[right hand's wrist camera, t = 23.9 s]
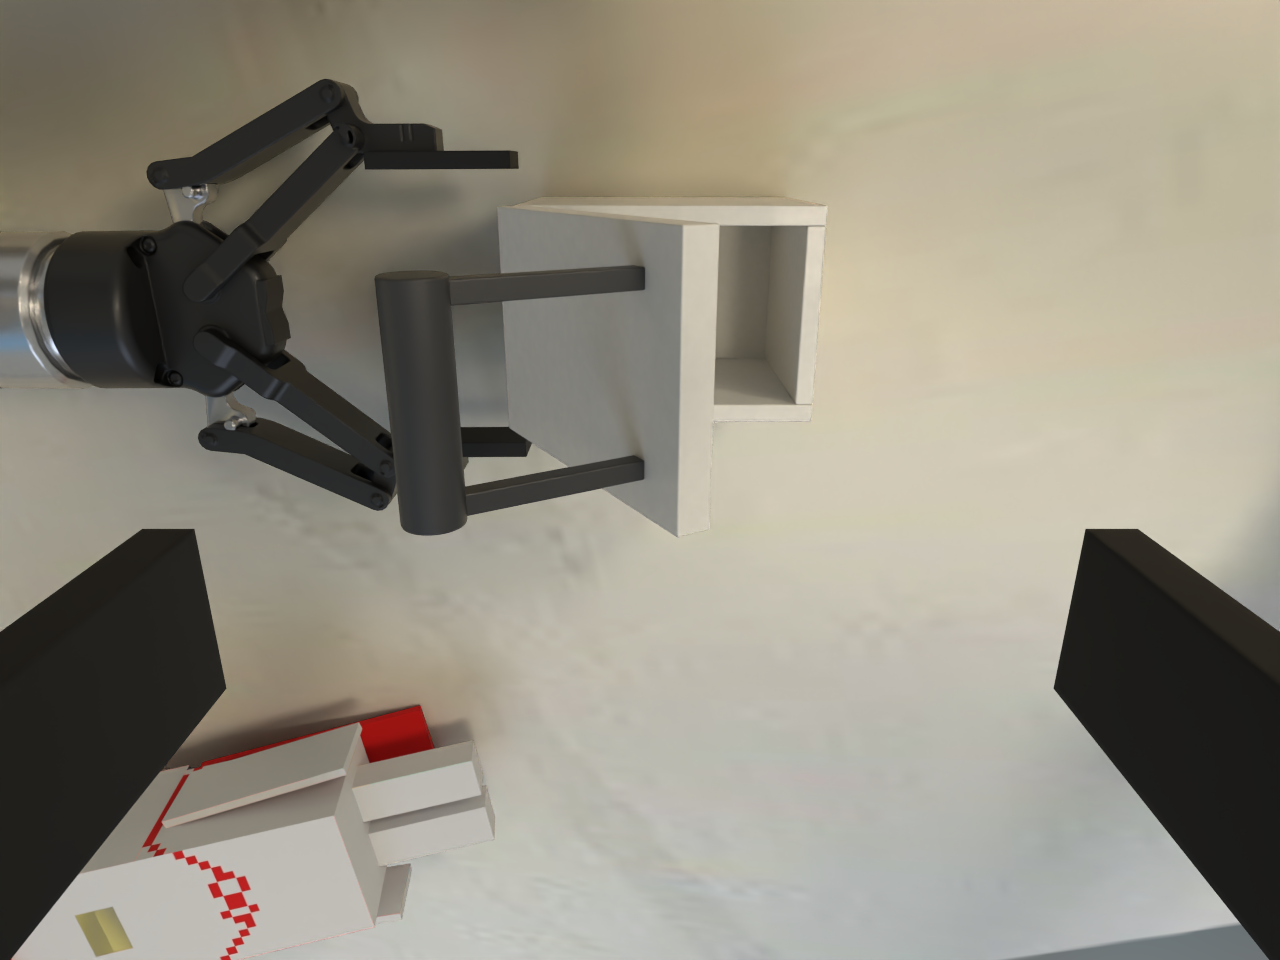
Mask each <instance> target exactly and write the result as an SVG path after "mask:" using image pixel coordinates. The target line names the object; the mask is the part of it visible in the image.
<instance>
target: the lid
mask: <svg viewBox="0 0 1280 960" xmlns="http://www.w3.org/2000/svg"><path fill="white" fill-rule="evenodd" d="M497 214H498V232H499V250H500V269H501V273H499V274H483V275H467V276H451V277H449V276H448V274H446V273H443V272H438V271H399V272H389V273H382V274H379V275H377V276H375V287H376V296H377V306H378V315H379V325H380V334H381V344H382V353H383V362H384V372H385V381H386V391H387V400H388V409H389V419H390V428H391V438H392V447H393V457H394V466H395V475H396V485H397V494H398V504H399V513H400V522H401V526H402V528H403V529H404V530H405V531H406V532H408V533H411V534H415V535H440V534H445V533H449V532H452V531H455V530H457V529H459V528H461V527H462V526H464V525H465V523H466V521H467V516H469V515H474V514H479V513H483V512H488V511H493V510H498V509H503V508H508V507H513V506H518V505H522V504H527V503H532V502H537V501H542V500H547V499H552V498H557V497H562V496H566V495H571V494H576V493H581V492H586V491H591V490H596V489H601V488H602V489H604V490H605V491H607V492H608V493H610V494H611V495H613V496H615V497H616V498H618V499H619V500H621V501H622V502H624V503H625V504H627V505H628V506H630V507H631V508H633V509H635V510H636V511H638V512H639V513H641V514H642V515H644V516H645V517H647V518H648V519H650V520H651V521H653V522H654V523H656V524H658V525H659V526H661V527H662V528H664V529H665V530H667V531H668V532H670V533H671V534H673V535H674V536H676V537H681V536H685V535H689V534H693V533H697V532H701V531H706V530H709V529H710V502H711V472H712V441H713V411H714V380H715V350H716V320H717V289H718V259H719V228H720V225H719V224H718V223H707V222H696V221H685V220H675V219H664V218H653V217H642V216H632V215H621V214H610V213H599V212H588V211H578V210H567V209H556V208H545V207H534V206H498V207H497ZM490 302H502V305H503V323H504V341H505V360H506V378H507V396H508V414H509V428H510V429H512V430H513V431H515V432H516V433H518V434H519V435H521V436H522V437H524V438H526V439H527V440H529V441H530V442H532V443H533V444H535V445H536V446H538V447H539V448H541V449H542V450H544V451H545V452H547V453H549V454H550V455H552V456H553V457H555V458H556V459H558V460H559V461H561V462H562V463H564V464H565V465H567V466H568V468H562V469H557V470H552V471H546V472H541V473H536V474H530V475H525V476H520V477H514V478H509V479H504V480H498V481H493V482H488V483H482V484H477V485H472V486H466V487H465V481H464V468H463V455H462V441H461V428H460V415H459V402H458V389H457V376H456V363H455V349H454V336H453V323H452V310H451V306H452V305H465V304H477V303H490Z"/></svg>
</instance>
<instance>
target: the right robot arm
mask: <svg viewBox="0 0 1280 960" xmlns="http://www.w3.org/2000/svg"><path fill="white" fill-rule="evenodd" d="M225 689H226V684H225V679H224V675H223V670H222V665H221V660H220V655H219V650H218V645H217V640H216V635H215V630H214V625H213V620H212V615H211V610H210V605H209V600H208V595H207V590H206V585H205V580H204V575H203V570H202V565H201V560H200V555H199V550H198V545H197V540H196V535H195V530H194V529H142V530H140V531H139V532H137V533H136V534H135V535H133V536H132V537H131V538H129V539H128V540H126V541H125V542H124V543H122V544H121V545H120V546H118V547H117V548H115V549H114V550H113V551H111V552H110V553H109V554H107V555H106V556H104V557H103V558H102V559H100V560H99V561H97V562H96V563H95V564H93V565H92V566H91V567H89V568H88V569H86V570H85V571H84V572H82V573H81V574H80V575H78V576H77V577H75V578H74V579H73V580H71V581H70V582H69V583H67V584H66V585H64V586H63V587H62V588H60V589H59V590H58V591H56V592H55V593H53V594H52V595H51V596H49V597H48V598H46V599H45V600H44V601H42V602H41V603H40V604H38V605H37V606H35V607H34V608H33V609H31V610H30V611H29V612H27V613H26V614H24V615H23V616H22V617H20V618H19V619H18V620H16V621H15V622H13V623H12V624H11V625H9V626H8V627H6V628H5V629H4V630H2V631H1V632H0V960H11V959H12V957H13V956H14V955H15V954H16V952H17V951H18V950H19V949H20V947H21V946H22V945H23V944H24V942H25V941H26V940H27V939H28V937H29V936H30V935H31V934H32V932H33V931H34V930H35V928H36V927H37V926H38V925H39V923H40V922H41V921H42V920H43V918H44V917H45V916H46V915H47V913H48V912H49V911H50V910H51V908H52V907H53V906H54V905H55V903H56V902H57V901H58V900H59V898H60V897H61V896H62V895H63V893H64V892H65V891H66V889H67V888H68V887H69V886H70V884H71V883H72V882H73V881H74V879H75V878H76V877H77V876H78V874H79V873H80V872H81V871H82V869H83V868H84V867H85V866H86V864H87V863H88V862H89V861H90V859H91V858H92V857H93V856H94V854H95V853H96V852H97V850H98V849H99V848H100V847H101V845H102V844H103V843H104V842H105V840H106V839H107V838H108V837H109V835H110V834H111V833H112V832H113V830H114V829H115V828H116V827H117V825H118V824H119V823H120V822H121V820H122V819H123V818H124V817H125V815H126V814H127V813H128V811H129V810H130V809H131V808H132V806H133V805H134V804H135V803H136V801H137V800H138V799H139V798H140V796H141V795H142V794H143V793H144V791H145V790H146V789H147V788H148V786H149V785H150V784H151V783H152V781H153V780H154V779H155V778H156V776H157V775H158V774H159V772H160V771H161V770H162V769H163V767H164V766H165V765H166V764H167V762H168V761H169V760H170V759H171V757H172V756H173V755H174V754H175V752H176V751H177V750H178V749H179V747H180V746H181V745H182V744H183V742H184V741H185V740H186V739H187V737H188V736H189V735H190V734H191V732H192V731H193V730H194V728H195V727H196V726H197V725H198V723H199V722H200V721H201V720H202V718H203V717H204V716H205V715H206V713H207V712H208V711H209V710H210V708H211V707H212V706H213V705H214V703H215V702H216V701H217V700H218V698H219V697H220V696H221V695H222V693H223V692H224V691H225ZM1054 689H1055V691H1056V692H1057V693H1058V695H1059V696H1060V697H1061V698H1062V700H1063V701H1064V702H1065V703H1066V705H1067V706H1068V707H1069V708H1070V710H1071V711H1072V712H1073V713H1074V715H1075V716H1076V717H1077V718H1078V720H1079V721H1080V722H1081V723H1082V725H1083V726H1084V727H1085V728H1086V730H1087V731H1088V732H1089V734H1090V735H1091V736H1092V737H1093V739H1094V740H1095V741H1096V742H1097V744H1098V745H1099V746H1100V747H1101V749H1102V750H1103V751H1104V752H1105V754H1106V755H1107V756H1108V757H1109V759H1110V760H1111V761H1112V762H1113V764H1114V765H1115V766H1116V767H1117V769H1118V770H1119V771H1120V772H1121V774H1122V775H1123V776H1124V778H1125V779H1126V780H1127V781H1128V783H1129V784H1130V785H1131V786H1132V788H1133V789H1134V790H1135V791H1136V793H1137V794H1138V795H1139V796H1140V798H1141V799H1142V800H1143V801H1144V803H1145V804H1146V805H1147V806H1148V808H1149V809H1150V810H1151V811H1152V813H1153V814H1154V815H1155V817H1156V818H1157V819H1158V820H1159V822H1160V823H1161V824H1162V825H1163V827H1164V828H1165V829H1166V830H1167V832H1168V833H1169V834H1170V835H1171V837H1172V838H1173V839H1174V840H1175V842H1176V843H1177V844H1178V845H1179V847H1180V848H1181V849H1182V850H1183V852H1184V853H1185V854H1186V856H1187V857H1188V858H1189V859H1190V861H1191V862H1192V863H1193V864H1194V866H1195V867H1196V868H1197V869H1198V871H1199V872H1200V873H1201V874H1202V876H1203V877H1204V878H1205V879H1206V881H1207V882H1208V883H1209V884H1210V886H1211V887H1212V888H1213V889H1214V891H1215V892H1216V893H1217V895H1218V896H1219V897H1220V898H1221V900H1222V901H1223V902H1224V903H1225V905H1226V906H1227V907H1228V908H1229V910H1230V911H1231V912H1232V913H1233V915H1234V916H1235V917H1236V918H1237V920H1238V921H1239V922H1240V923H1241V925H1242V926H1243V927H1244V928H1245V930H1246V931H1247V932H1248V933H1249V935H1250V936H1251V937H1252V939H1253V940H1254V941H1255V942H1256V944H1257V945H1258V946H1259V947H1260V949H1261V950H1262V951H1263V952H1264V954H1265V955H1266V956H1267V957H1268V959H1269V960H1280V632H1279V631H1278V630H1276V629H1275V628H1274V627H1272V626H1271V625H1269V624H1268V623H1267V622H1265V621H1264V620H1262V619H1261V618H1260V617H1258V616H1257V615H1256V614H1254V613H1253V612H1251V611H1250V610H1249V609H1247V608H1246V607H1245V606H1243V605H1242V604H1240V603H1239V602H1238V601H1236V600H1235V599H1234V598H1232V597H1231V596H1229V595H1228V594H1227V593H1225V592H1224V591H1222V590H1221V589H1220V588H1218V587H1217V586H1216V585H1214V584H1213V583H1211V582H1210V581H1209V580H1207V579H1206V578H1205V577H1203V576H1202V575H1200V574H1199V573H1198V572H1196V571H1195V570H1194V569H1192V568H1191V567H1189V566H1188V565H1187V564H1185V563H1184V562H1183V561H1181V560H1180V559H1178V558H1177V557H1176V556H1174V555H1173V554H1171V553H1170V552H1169V551H1167V550H1166V549H1165V548H1163V547H1162V546H1160V545H1159V544H1158V543H1156V542H1155V541H1154V540H1152V539H1151V538H1149V537H1148V536H1147V535H1145V534H1144V533H1143V532H1141V531H1140V530H1138V529H1086V530H1085V535H1084V540H1083V545H1082V550H1081V555H1080V560H1079V565H1078V570H1077V575H1076V580H1075V585H1074V590H1073V595H1072V600H1071V605H1070V610H1069V615H1068V620H1067V625H1066V630H1065V635H1064V640H1063V645H1062V650H1061V655H1060V660H1059V665H1058V670H1057V675H1056V679H1055V684H1054Z"/></svg>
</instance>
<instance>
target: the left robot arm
mask: <svg viewBox="0 0 1280 960" xmlns="http://www.w3.org/2000/svg"><path fill="white" fill-rule="evenodd" d="M330 124H331V126H332V129H333V132H332V133H331V134H330V135H329V136H328V137H327V138H326V140H325V141H324V142H323V143H322V144H321V145H320V146H319V147H318V148H317V149H316V150H315V151H314V152H313V153H312V154H311V155H310V156H309V157H308V158H307V159H306V160H305V161H304V162H303V163H302V164H301V166H300V167H299V168H298V169H297V170H296V171H295V172H294V173H293V174H292V175H291V176H290V177H289V178H288V179H287V180H286V181H285V182H284V183H283V184H282V185H281V186H280V187H279V188H278V189H277V190H276V191H275V193H274V194H273V195H272V196H271V197H270V198H269V199H268V200H267V201H266V202H265V203H264V204H263V205H262V206H261V207H260V208H259V209H258V210H257V211H256V212H255V213H254V214H253V215H252V216H251V217H250V218H249V219H248V220H247V221H246V222H245V223H243V224H242V225H240V226H238V227H237V228H236V229H235V230H234V231H233V232H232V233H231V234H230V235H227V234H226V233H224V232H223V231H221V230H220V229H218V228H217V227H215V226H214V225H212V224H211V223H209V222H207V221H204V220H203V217H202V212H203V209H204V207H205V206H206V205H208V204H210V203H212V202H214V201H215V200H216V198H217V195H218V188H217V187H216V185H219V184H224V183H227V182H230V181H233V180H235V179H237V178H239V177H241V176H243V175H244V174H246V173H248V172H250V171H251V170H253V169H255V168H256V167H258V166H260V165H261V164H263V163H265V162H267V161H268V160H270V159H272V158H273V157H275V156H277V155H279V154H280V153H282V152H284V151H285V150H287V149H289V148H290V147H292V146H294V145H296V144H297V143H299V142H301V141H302V140H304V139H306V138H308V137H309V136H311V135H313V134H314V133H316V132H318V131H319V130H321V129H323V128H325V127H326V126H328V125H330ZM363 160H364V163H365V169H519V167H518V152H516V151H444V149H443V137H442V130H441V129H439V128H436V127H434V126H432V125H428V124H373V123H371V122H370V121H368V120H367V118H366V117H365V116H364V114H363V112H362V110H361V107H360V105H359V103H358V95H357V92H356V91H355V89H354V88H353V87H351V86H349V85H347V84H344V83H340V82H337V81H333V80H329V79H323V80H320V81H318V82H316V83H315V84H313V85H311V86H310V87H308V88H306V89H305V90H303V91H301V92H300V93H298V94H296V95H295V96H293V97H291V98H290V99H288V100H286V101H285V102H283V103H281V104H280V105H278V106H276V107H275V108H273V109H271V110H270V111H268V112H266V113H265V114H263V115H261V116H260V117H258V118H256V119H255V120H253V121H251V122H250V123H248V124H246V125H245V126H243V127H241V128H239V129H238V130H236V131H234V132H233V133H231V134H229V135H228V136H226V137H224V138H223V139H221V140H219V141H218V142H216V143H214V144H213V145H211V146H209V147H208V148H206V149H204V150H203V151H201V152H199V153H198V154H196V155H194V156H193V157H187V158H179V159H172V160H164V161H156V162H153V163H151V164H150V165H149V166H148V169H147V178H148V180H149V182H150V183H151V184H152V185H153V186H154V187H156V188H158V189H162V190H164V194H165V197H166V200H167V204H168V207H169V210H170V214H171V217H172V220H173V224H172V225H170V226H169V227H168V228H166V229H164V230H161V231H82V232H77V233H75V234H70V233H67V232H65V231H56V232H0V388H60V389H84V388H88V387H93V386H96V387H100V388H188V389H192V390H195V391H197V392H199V393H201V394H203V395H205V396H206V408H207V422H208V426H207V427H206V428H204V429H203V430H201V431H200V433H199V436H198V439H199V443H200V444H201V445H202V447H204V448H205V449H207V450H211V451H220V452H229V453H239V454H246V455H248V456H250V457H253V458H255V459H257V460H260V461H262V462H264V463H267V464H269V465H271V466H273V467H276V468H278V469H280V470H283V471H285V472H287V473H290V474H292V475H294V476H297V477H299V478H301V479H304V480H306V481H308V482H311V483H313V484H315V485H317V486H320V487H322V488H324V489H327V490H329V491H331V492H334V493H336V494H338V495H341V496H343V497H345V498H348V499H350V500H352V501H355V502H357V503H359V504H361V505H364V506H366V507H368V508H371V509H373V510H377V511H379V510H383V509H385V508H386V507H387V506H388V504H389V503H390V502H391V501H392V499H393V498H394V497H395V495H396V494H397V485H396V475H395V466H394V457H393V447H392V438H391V433H390V432H389V431H387V430H386V429H384V428H383V427H382V426H380V425H379V424H378V423H376V422H375V421H374V420H372V419H371V418H370V417H368V416H367V415H365V414H364V413H363V412H361V411H360V410H359V409H357V408H356V407H355V406H353V405H352V404H351V403H349V402H348V401H346V400H345V399H344V398H342V397H341V396H340V395H338V394H337V393H336V392H334V391H333V390H332V389H330V388H329V387H328V386H326V385H325V384H323V383H322V382H321V381H319V380H318V379H317V378H315V377H314V376H313V375H311V374H310V373H309V372H307V370H306V368H305V366H304V365H303V364H302V363H301V362H300V361H299V360H297V359H296V358H295V357H293V356H292V355H291V354H289V353H288V352H287V351H285V350H284V348H285V346H286V341H287V339H289V338H291V336H290V330H289V323H288V320H287V318H286V316H285V313H284V311H283V309H282V301H283V292H284V290H283V283H282V277H281V275H277V274H276V272H275V270H274V269H273V267H272V266H271V265H270V264H269V263H268V262H267V261H268V260H269V259H270V258H271V257H272V256H273V255H274V254H275V253H276V252H277V251H278V250H279V249H280V248H281V247H282V246H283V245H284V244H285V243H286V241H287V238H288V237H289V236H290V235H291V234H292V233H293V232H294V231H295V230H296V229H297V228H298V226H299V225H300V224H301V223H302V222H303V221H304V220H305V219H306V218H307V217H308V216H309V215H310V214H311V213H312V212H313V211H314V210H315V209H316V208H317V207H318V206H319V205H320V204H321V203H322V202H323V201H324V200H325V199H326V198H327V197H328V196H329V195H330V194H331V193H332V192H333V191H334V190H335V189H336V188H337V187H338V186H339V185H340V184H341V183H342V182H343V181H344V180H345V179H346V178H347V177H348V176H349V175H350V174H351V173H352V172H353V171H354V170H355V169H356V168H357V167H358V166H359V165H360V164H361V163H362V162H363ZM244 384H246V385H247V386H248V387H250V388H251V389H252V390H254V391H255V392H257V393H258V394H259V395H261V396H263V397H264V398H267V399H271V400H275V401H277V402H278V403H280V404H281V405H283V406H284V407H285V408H287V409H288V410H289V411H291V412H292V413H294V414H295V415H296V416H298V417H299V418H301V419H302V420H303V421H305V422H306V423H307V424H309V425H310V426H312V427H313V428H314V429H316V430H317V431H319V432H320V433H321V434H323V435H324V436H325V437H327V438H328V439H330V440H331V441H332V442H334V443H335V444H337V445H338V446H339V447H341V448H342V449H344V450H345V451H346V452H348V453H349V454H350V455H349V454H347V453H345V452H343V451H340V450H338V449H336V448H334V447H331V446H329V445H327V444H324V443H322V442H320V441H318V440H315V439H313V438H311V437H309V436H306V435H304V434H302V433H299V432H297V431H295V430H293V429H290V428H288V427H286V426H284V425H281V424H279V423H276V422H274V421H271V420H267V419H263V418H257V417H256V416H255V415H256V413H255V411H254V410H253V409H252V408H249V407H246V406H243V405H241V404H240V403H238V402H237V401H236V399H235V397H234V394H233V391H236V390H238V389H239V388H240V387H242V386H243V385H244ZM460 428H461V441H462V455H463V468H464V469H465V467H466V465H467V464H468V462H469V461H468V457H526V456H527V454H528V451H529V449H530V446H531V444H532V442H530V441H529V440H527V439H526V438H524V437H522V436H521V435H519V434H518V433H516V432H515V431H513V430H512V429H510V428H509V427H460Z"/></svg>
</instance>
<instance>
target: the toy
mask: <svg viewBox="0 0 1280 960" xmlns="http://www.w3.org/2000/svg"><path fill="white" fill-rule="evenodd" d="M482 778H483V772H482V769H481V765H480V762H479V758H478V755H477V751H476V748H475V744H474V740H471V741H466V742H462V743H458V744H453V745H449V746H444V747H440V748H434V745H433V742H432V739H431V736H430V733H429V730H428V727H427V724H426V721H425V718H424V715H423V712H422V709H421V706H416V707H413V708H409V709H405V710H401V711H397V712H393V713H390V714H386V715H382V716H378V717H374V718H370V719H367V720H363V721H359V722H355V723H351V724H347V725H343V726H340V727H336V728H332V729H328V730H324V731H320V732H317V733H313V734H309V735H305V736H301V737H297V738H294V739H290V740H286V741H282V742H278V743H274V744H270V745H267V746H263V747H259V748H255V749H251V750H247V751H244V752H240V753H236V754H232V755H228V756H224V757H221V758H217V759H213V760H209V761H205V762H203V763H202V765H201V767H198V768H194V769H191V767H190V765H187V766H182V767H178V768H173V769H169V770H165V771H160V772H159V774H158V775H157V776H156V778H155V779H154V780H153V781H152V783H151V784H150V785H149V786H148V788H147V789H146V790H145V791H144V793H143V794H142V795H141V796H140V798H139V799H138V800H137V801H136V803H135V804H134V805H133V806H132V808H131V809H130V810H129V811H128V813H127V814H126V815H125V817H124V818H123V819H122V820H121V822H120V823H119V824H118V825H117V827H116V828H115V829H114V830H113V832H112V833H111V834H110V835H109V837H108V838H107V839H106V840H105V842H104V843H103V844H102V845H101V847H100V848H99V849H98V850H97V852H96V853H95V854H94V856H93V857H92V858H91V859H90V861H89V862H88V863H87V864H86V866H85V867H84V868H83V869H82V871H81V872H80V873H79V874H78V876H77V877H76V878H75V879H74V881H73V882H72V883H71V884H70V886H69V887H68V888H67V889H66V891H65V892H64V893H63V895H62V896H61V897H60V898H59V900H58V901H57V902H56V903H55V905H54V906H53V907H52V908H51V910H50V911H49V912H48V913H47V915H46V916H45V917H44V918H43V920H42V921H41V922H40V923H39V925H38V926H37V927H36V928H35V930H34V931H33V932H32V934H31V935H30V936H29V937H28V939H27V940H26V941H25V942H24V944H23V945H22V946H21V947H20V949H19V950H18V951H17V952H16V954H15V955H14V956H13V957H12V959H11V960H240V959H245V958H249V957H253V956H257V955H261V954H265V953H270V952H274V951H278V950H282V949H286V948H290V947H295V946H299V945H303V944H307V943H311V942H315V941H319V940H324V939H328V938H332V937H336V936H340V935H344V934H349V933H353V932H357V931H361V930H365V929H369V928H374V927H375V924H380V923H386V922H393V921H399V920H402V916H403V911H404V906H405V901H406V896H407V891H408V886H409V881H410V876H411V871H412V869H411V864H404V865H398V866H391V867H387V865H389V864H393V863H397V862H401V861H406V860H410V859H414V858H418V857H423V856H427V855H431V854H435V853H440V852H444V851H448V850H452V849H457V848H461V847H465V846H469V845H474V844H478V843H482V842H486V841H491V840H494V833H495V815H494V811H493V808H492V804H491V801H490V797H489V794H488V790H487V786H486V785H484V786H482Z"/></svg>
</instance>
